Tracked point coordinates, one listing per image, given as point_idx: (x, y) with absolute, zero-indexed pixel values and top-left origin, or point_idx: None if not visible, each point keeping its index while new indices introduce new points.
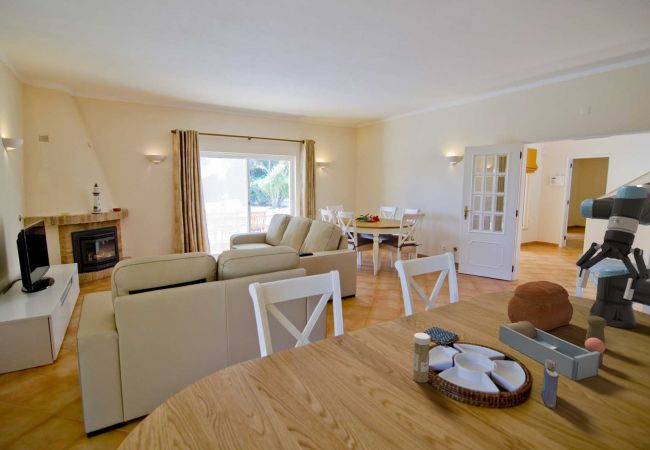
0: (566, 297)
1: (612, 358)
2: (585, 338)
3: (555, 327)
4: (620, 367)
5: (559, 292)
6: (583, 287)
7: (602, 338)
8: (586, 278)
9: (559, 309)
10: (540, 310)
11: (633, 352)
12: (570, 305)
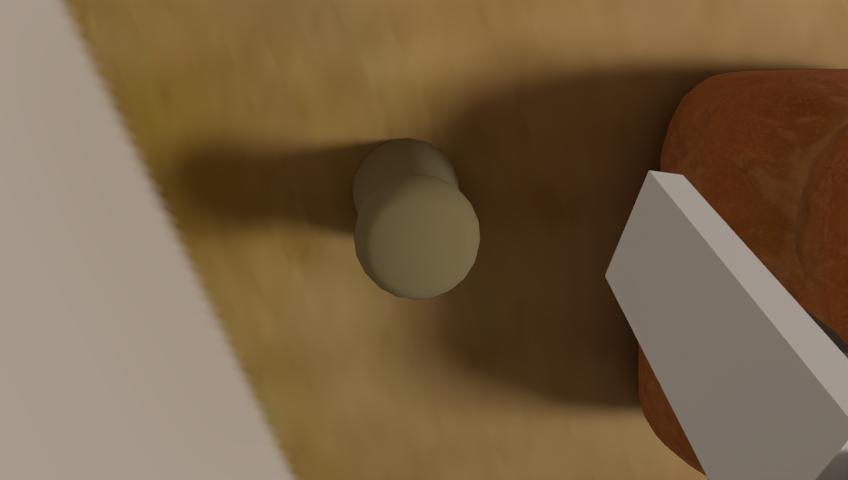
0: None
1: (279, 125)
2: (451, 173)
3: None
4: (197, 38)
5: None
6: (624, 238)
7: (361, 196)
8: (684, 357)
9: None
10: (800, 93)
11: (268, 321)
12: None
